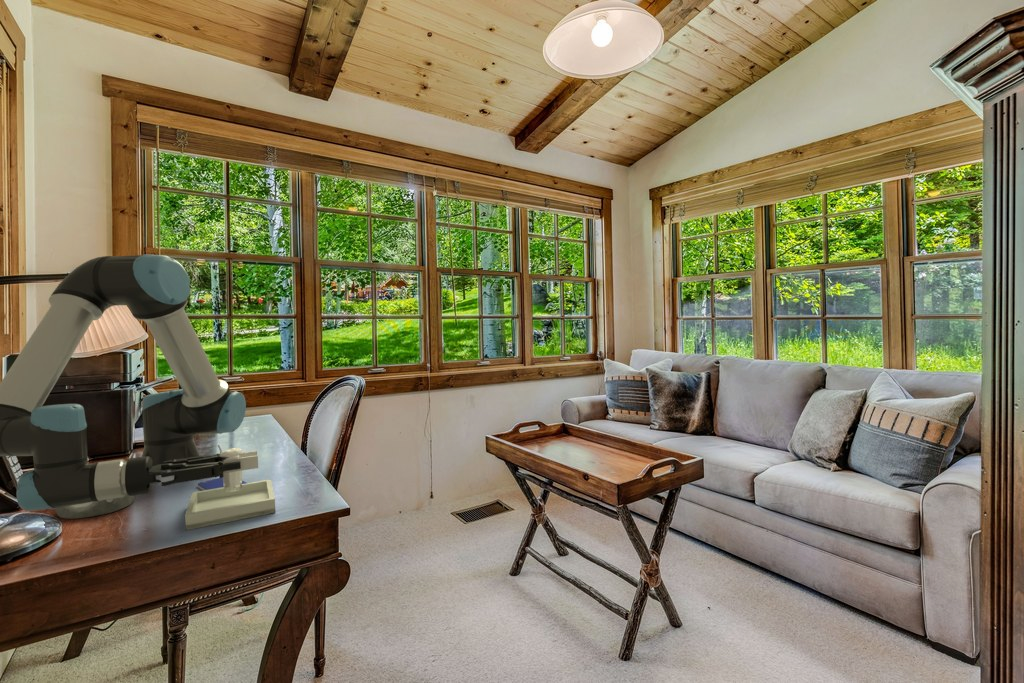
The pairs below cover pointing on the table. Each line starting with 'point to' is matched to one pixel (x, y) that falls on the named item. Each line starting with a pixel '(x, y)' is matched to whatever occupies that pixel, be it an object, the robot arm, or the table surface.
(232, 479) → the milkshake
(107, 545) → the table surface
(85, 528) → the table surface
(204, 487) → the hard drive
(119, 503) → the dish
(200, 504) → the tray
